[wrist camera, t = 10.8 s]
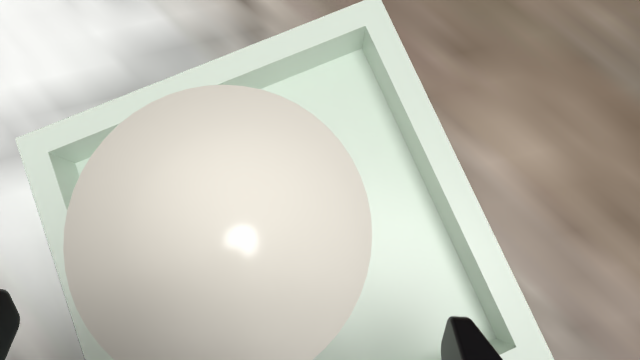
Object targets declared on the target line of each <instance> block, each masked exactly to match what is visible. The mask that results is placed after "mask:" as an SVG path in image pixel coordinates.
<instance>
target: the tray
mask: <svg viewBox="0 0 640 360" xmlns="http://www.w3.org/2000/svg"><path fill="white" fill-rule="evenodd" d="M208 85H237V86H246V87H251V88H256V89H261V90H265V91H268V92H271V93H274V94H277V95H280V96H282V97H284V98H286V99H288V100H290V101H292V102H294V103H296V104H298V105H300V106H301V107H303V108H304V109H306V110H307V111H309V112H310V113H312V114H313V115H314V116H316V117H317V118H318V119H319V120H320V121H321V122H322V123H324V124H325V125H326V126H327V127H328V128H329V129H330V130H331V131H332V132H333V134H334V135H335V136H336V137H337V138H338V139H339V140H340V141H341V143H342V144H343V146H344V147H345V149H346V150H347V152H348V153H349V155H350V156H351V158H352V160H353V162H354V164H355V166H356V168H357V170H358V172H359V174H360V176H361V179H362V182H363V184H364V187H365V190H366V193H367V197H368V202H369V207H370V212H371V224H372V246H371V257H370V262H369V267H368V273H367V277H366V280H365V283H364V286H363V289H362V292H361V295H360V297H359V299H358V301H357V303H356V305H355V307H354V309H353V311H352V313H351V315H350V317H349V318H348V320H347V321H346V323H345V324H344V326H343V327H342V329H341V330H340V332H339V333H338V334H337V335H336V337H335V338H334V339H333V340H332V341H331V342H330V343H329V345H328V346H327V347H326V348H325V349H324V350H323V351H322V352H321V353H319V354H318V355H317V356H316V357H315V358H314V359H313V360H441V342H442V338H443V334H444V330H445V327H446V323H447V320H448V318H449V317H450V316H459V317H468V318H470V319H471V320H472V321H473V322H474V323H475V325H476V326H477V327H478V328H479V330H480V331H481V332H482V334H483V335H484V336H485V337H486V339H487V340H488V341H489V342H490V344H491V345H492V346H493V348H494V349H495V350H496V351H497V353H498V354H499V355H500V356H501V358H502V359H503V360H554V358H553V356H552V354H551V352H550V350H549V348H548V346H547V344H546V342H545V340H544V337H543V335H542V333H541V331H540V329H539V327H538V325H537V323H536V321H535V319H534V317H533V315H532V313H531V310H530V308H529V306H528V304H527V302H526V300H525V298H524V296H523V294H522V292H521V290H520V288H519V286H518V283H517V281H516V279H515V277H514V275H513V273H512V271H511V269H510V267H509V265H508V263H507V261H506V259H505V256H504V254H503V252H502V250H501V248H500V246H499V244H498V242H497V240H496V238H495V236H494V234H493V231H492V229H491V227H490V225H489V223H488V221H487V219H486V217H485V215H484V213H483V211H482V209H481V207H480V204H479V202H478V200H477V198H476V196H475V194H474V192H473V190H472V188H471V186H470V184H469V182H468V180H467V177H466V175H465V173H464V171H463V169H462V167H461V165H460V163H459V161H458V159H457V157H456V155H455V153H454V150H453V148H452V146H451V144H450V142H449V140H448V138H447V136H446V134H445V132H444V130H443V128H442V126H441V123H440V121H439V119H438V117H437V115H436V113H435V111H434V109H433V107H432V105H431V103H430V101H429V99H428V96H427V94H426V92H425V90H424V88H423V86H422V84H421V82H420V80H419V78H418V76H417V74H416V72H415V69H414V67H413V65H412V63H411V61H410V59H409V57H408V55H407V53H406V51H405V49H404V47H403V45H402V42H401V40H400V38H399V36H398V34H397V32H396V30H395V28H394V26H393V24H392V22H391V20H390V18H389V15H388V13H387V11H386V9H385V7H384V5H383V3H382V1H381V0H364V1H362V2H359V3H356V4H354V5H351V6H349V7H346V8H344V9H341V10H339V11H336V12H334V13H331V14H329V15H326V16H324V17H321V18H319V19H316V20H313V21H311V22H308V23H306V24H303V25H301V26H298V27H296V28H293V29H291V30H288V31H286V32H283V33H281V34H278V35H275V36H273V37H270V38H268V39H265V40H263V41H260V42H258V43H255V44H253V45H250V46H248V47H245V48H243V49H240V50H238V51H235V52H232V53H230V54H227V55H225V56H222V57H220V58H217V59H215V60H212V61H210V62H207V63H205V64H202V65H200V66H197V67H195V68H192V69H189V70H187V71H184V72H182V73H179V74H177V75H174V76H172V77H169V78H167V79H164V80H162V81H159V82H157V83H154V84H152V85H149V86H146V87H144V88H141V89H139V90H136V91H134V92H131V93H129V94H126V95H124V96H121V97H119V98H116V99H114V100H111V101H109V102H106V103H103V104H101V105H98V106H96V107H93V108H91V109H88V110H86V111H83V112H81V113H78V114H76V115H73V116H71V117H68V118H66V119H63V120H60V121H58V122H55V123H53V124H50V125H48V126H45V127H43V128H40V129H38V130H35V131H33V132H30V133H28V134H25V135H23V136H20V137H17V138H15V140H16V143H17V146H18V150H19V153H20V156H21V159H22V162H23V165H24V169H25V172H26V175H27V178H28V181H29V184H30V188H31V191H32V194H33V197H34V200H35V203H36V207H37V210H38V213H39V216H40V219H41V222H42V226H43V229H44V232H45V235H46V238H47V241H48V245H49V248H50V251H51V254H52V257H53V260H54V264H55V267H56V270H57V273H58V276H59V279H60V283H61V286H62V289H63V292H64V295H65V298H66V302H67V305H68V308H69V311H70V314H71V317H72V321H73V324H74V327H75V330H76V333H77V337H78V340H79V343H80V346H81V349H82V352H83V356H84V359H85V360H114V359H113V358H112V357H111V356H110V355H109V354H108V353H107V352H106V351H105V350H104V349H103V348H102V347H101V346H100V345H99V344H98V342H97V341H96V340H95V338H94V337H93V336H92V334H91V333H90V332H89V330H88V329H87V327H86V326H85V324H84V322H83V320H82V318H81V316H80V315H79V313H78V311H77V309H76V306H75V303H74V301H73V298H72V295H71V293H70V290H69V285H68V281H67V277H66V272H65V264H64V253H63V244H64V227H65V221H66V215H67V210H68V206H69V203H70V200H71V196H72V193H73V190H74V188H75V185H76V183H77V181H78V179H79V176H80V174H81V172H82V170H83V169H84V167H85V165H86V164H87V162H88V160H89V159H90V157H91V155H92V154H93V153H94V151H95V150H96V149H97V147H98V146H99V145H100V144H101V142H102V141H103V140H104V139H105V138H106V137H107V136H108V135H109V134H110V133H111V132H112V131H113V130H114V129H115V128H116V127H117V126H118V125H119V124H120V123H121V122H123V121H124V120H125V119H126V118H128V117H129V116H130V115H132V114H133V113H134V112H136V111H138V110H139V109H141V108H142V107H144V106H146V105H147V104H149V103H151V102H153V101H155V100H158V99H160V98H162V97H164V96H166V95H169V94H172V93H175V92H179V91H182V90H185V89H190V88H195V87H201V86H208Z"/></svg>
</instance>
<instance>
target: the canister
mask: <svg viewBox="0 0 640 360" xmlns="http://www.w3.org/2000/svg"><path fill="white" fill-rule="evenodd" d="M371 246H372V224H371V212H370V207H369V202H368V197H367V193H366V190H365V187H364V184H363V182H362V179H361V176H360V174H359V172H358V170H357V168H356V166H355V164H354V162H353V160H352V158H351V156H350V155H349V153H348V152H347V150H346V149H345V147H344V146H343V144H342V143H341V141H340V140H339V139H338V138H337V137H336V136H335V135H334V134H333V132H332V131H331V130H330V129H329V128H328V127H327V126H326V125H325V124H324V123H322V122H321V121H320V120H319V119H318V118H317V117H316V116H314V115H313V114H312V113H310V112H309V111H307V110H306V109H304V108H303V107H301V106H300V105H298V104H296V103H294V102H292V101H290V100H288V99H286V98H284V97H282V96H280V95H277V94H274V93H271V92H268V91H265V90H261V89H256V88H251V87H246V86H237V85H208V86H201V87H195V88H190V89H185V90H182V91H179V92H175V93H172V94H169V95H166V96H164V97H162V98H160V99H158V100H155V101H153V102H151V103H149V104H147V105H146V106H144V107H142V108H141V109H139V110H138V111H136V112H134V113H133V114H132V115H130V116H129V117H128V118H126V119H125V120H124V121H123V122H121V123H120V124H119V125H118V126H117V127H116V128H115V129H114V130H113V131H112V132H111V133H110V134H109V135H108V136H107V137H106V138H105V139H104V140H103V141H102V142H101V144H100V145H99V146H98V147H97V149H96V150H95V151H94V153H93V154H92V155H91V157H90V159H89V160H88V162H87V164H86V165H85V167H84V169H83V170H82V172H81V174H80V176H79V179H78V181H77V183H76V185H75V188H74V190H73V193H72V196H71V200H70V203H69V206H68V210H67V215H66V221H65V227H64V244H63V253H64V264H65V272H66V277H67V281H68V285H69V290H70V293H71V295H72V298H73V301H74V303H75V306H76V309H77V311H78V313H79V315H80V316H81V318H82V320H83V322H84V324H85V326H86V327H87V329H88V330H89V332H90V333H91V334H92V336H93V337H94V338H95V340H96V341H97V342H98V344H99V345H100V346H101V347H102V348H103V349H104V350H105V351H106V352H107V353H108V354H109V355H110V356H111V357H112V358H113V359H114V360H313V359H314V358H315V357H316V356H317V355H318V354H319V353H321V352H322V351H323V350H324V349H325V348H326V347H327V346H328V345H329V343H330V342H331V341H332V340H333V339H334V338H335V337H336V335H337V334H338V333H339V332H340V330H341V329H342V327H343V326H344V324H345V323H346V321H347V320H348V318H349V317H350V315H351V313H352V311H353V309H354V307H355V305H356V303H357V301H358V299H359V297H360V295H361V292H362V289H363V286H364V283H365V280H366V277H367V273H368V267H369V262H370V257H371Z"/></svg>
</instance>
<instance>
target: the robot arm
mask: <svg viewBox="0 0 640 360" xmlns="http://www.w3.org/2000/svg"><path fill="white" fill-rule="evenodd" d="M19 324H20V316H19V313H18V311H17V309H16V307H15V305H14V303H13V301H12V298H11V296H10V294H9V293H8V292H7V291H6V290H3V289H0V360H5V358H6V356H7V354H8V351H9V349H10V347H11V344H12V342H13V340H14V337H15V335H16V332H17V330H18V327H19ZM441 360H503V359H502V358H501V356H500V355H499V354H498V353H497V351H496V350H495V349H494V348H493V346H492V345H491V344H490V342H489V341H488V340H487V339H486V337H485V336H484V335H483V334H482V332H481V331H480V330H479V328H478V327H477V326H476V325H475V323H474V322H473V321H472V320H471V319H470V318H468V317H459V316H450V317H449V318H448V320H447V323H446V327H445V330H444V334H443V338H442V342H441Z"/></svg>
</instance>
